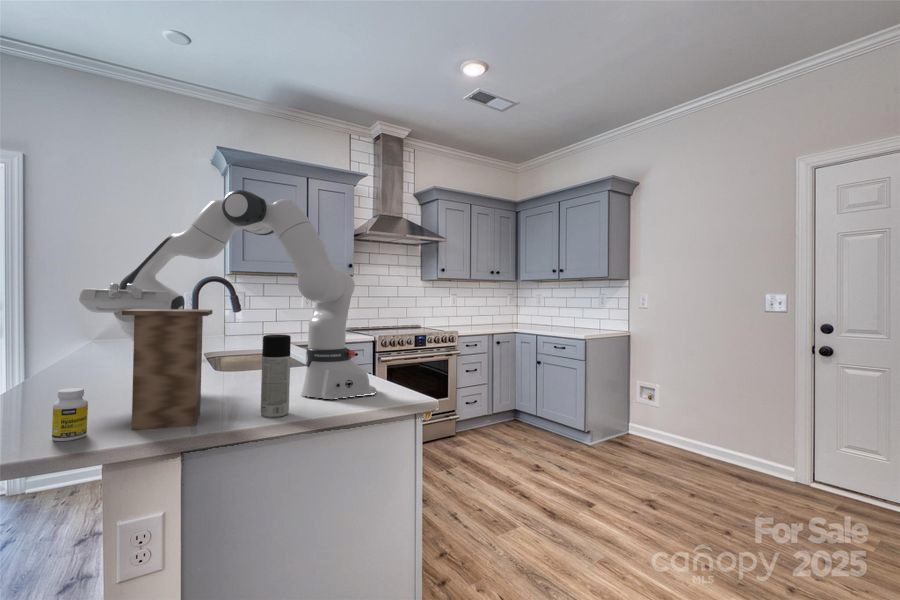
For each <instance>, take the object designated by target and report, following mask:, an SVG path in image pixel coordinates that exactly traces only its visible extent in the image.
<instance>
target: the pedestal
mask: <svg viewBox="0 0 900 600" xmlns="http://www.w3.org/2000/svg"><path fill="white" fill-rule="evenodd" d="M122 315H134V341H133V355H132V356H133V357H132V359H133V361H132V363H133V364H132V396H131V397H132V398H131V399H132V401H131V403H132V404H131V405H132V406H131V430H132V431H135V430H147V429H160V428H163V429H164V428H173V427H176V428H177V427H189V426H196V424H197V422H198V420H199V418H200V416H201V397H202V394H201V393H202V365H203V363H202V361H203V360H202V359H203V357H202V356H203V355H202V354H203V353H202V352H203V351H202V350H203V323H204V322H203V321H204V320H203V318H204V317H209V316H210V315H213V309H197V308H195V309H191V308H190V309H187V308H186V309H185V308H184V309H130V310H123V311H122Z"/></svg>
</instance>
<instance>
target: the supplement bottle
mask: <svg viewBox="0 0 900 600" xmlns="http://www.w3.org/2000/svg"><path fill="white" fill-rule="evenodd" d="M84 395H85V388H83V387H70V388H69V387H68V388H62V389H59V390H58V391H57V399H59V400H57V401H55V402H54V403H53V405H52V422H51V424H52V427H51V440H52V441H55V442H68V441H74V440H75V441H76V440H78V439H82V438H84V437H85V436H86V435H87V431H88V413H89V412H88V408H89V403H88V402H89V401H88V400H87V399H85V398H83V397H84Z"/></svg>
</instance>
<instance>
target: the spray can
mask: <svg viewBox="0 0 900 600" xmlns="http://www.w3.org/2000/svg"><path fill="white" fill-rule="evenodd" d="M291 338H292V337H291V335H289V334H267V335H263V337H262V350H261V351H262V354H261V355H262V356H261V386H260V387H261V390H260V392H261V393H260V415H261V417H263V418H270V419H271V418H274V417H275V418H281V416H282V417H285V416H287V415H288V414H289V411H290V384H291V383H290V380H291V379H290V378H291V346H292V345H291V342H292V340H291ZM275 418H274V419H275Z"/></svg>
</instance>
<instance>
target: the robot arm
mask: <svg viewBox="0 0 900 600" xmlns="http://www.w3.org/2000/svg"><path fill="white" fill-rule="evenodd" d="M239 230H243V231H245V232H247V233H251V234H254V235H257V236H269V235H273V234H274V235H275V236H276V237H277V239H278V241H279V243H280V244H281V246H282V247H283V249H284V251H285V252H286V254H287V255H288V257H289V259H290V260H291V262H292V265H293V267H294V270H295V273H296V275H297V279H298V281H297V287H298V290H299V292H300V294H301V295H302V297H304V298H305V299H307V300H309V301H311V302H314V303H315V306H314V309H313V312H312V315H311V318H310V319H309V322H308V335H307V336H308V339H307V341H308V342H307V348H306V351H305V366H306V371H305V377H304V382H303V387H302V389H301V390H302V391H301V392H300V395H301V396H303V397H305V396H307V397H306V398H309V397H316V398H315V399H318V398H323V399H335V398H343V397H350V396H357V395H364V394H371V393H375V392H376V393H377V388H376V387H375V386H373V385H371V384H370V378H369V375H368V373H367V371H366V370H365V369H363V367H361V366H360V365H359V364H357V363H356V362H355V361H354V360H352V358H354V357H355V356H356V351H355V350H354V349H349V348H347V347H346V339H347V338H346V337H347V336H346V334H347V333H346V332H347V331H346V330H347V319H348V314H349V310H350V305H351V300H352V296H353V294H354V292H355V289H356V288H355V287H356V286H355V281H354V278H353V277H352V276H351V275H350V274H349V273H348V272H347V271H345V270H343V269H341V268H338V267H334V265H333V264H332V263H331V262H330V259H329V256H328V254H327V252H326V245H325V243H324V241H323V239H322V238H321V237H320V234H319V233H318V232H317V230H316V228H315V227H314V225H313V223H312V222H311V220H310V218H308V216H307V215H306V213H305V212H304V211H303V210H302V209H301V207H300V206H299V205H298V204H297V203H296V202H295V201H293V200H291V199H289V198H288V199H287V198H281V199H277V200H276V201H274V202H271V203H269V202H267V201H266V200H265V199H264V198H262V197H261V196H259V195H257V194H255V193H253V192H251V191H248V190H242V189H236V190H232V191H230V192H228V193H227V194H226V195H225V196H224V198H223V199H222V200H221V199H213V200H211V201H210V202H208V204H207V205H206V206H205V207H204V208H203V209H202V210H201V211H200V212H199V213H198V214H197V216H196V218H194V220H193V221H192V223H191V224H190V226H189V227H187V228H186V229H185V230H184V231H182V232H180V233H177V232H175V233H172V234H170V235H169V236H168V237H166V238H165V239H164V240H163V241H162V242H161V243H159V245H157V246H156V247H155V249H154V250H153V251H152V252H151V253H149V254H148V256H147V257H146V258H145V259H144V260H143V261H142V262H141V263H140V264H139V265H138V266H137V267H136V268H135V269H133V270H132V271H131V272H130V273H129V274H128V275H126V276H125V277H124V278H123V279H122V280H121V282H120V283H112V282H111V283H110V285H109V289H107V288H84V289H82V290H81V291H80V292H79V298H78V301H79V302H80V304H81V305H82V306H83V307H84V308H85V309H86V310H87V311H90V312H92V313H101V314H102V313H106V314H107V313H110V314H113V315H114V317H115V318H116V321H117V322H118V324H119V325H120V326H121V329H122V331H123V333H124V334H125V335H126V337H128V339H130V340H131V341H133V342H134V315H122V311H123V310H130V309H185V306H186V305H185V304H186V303H185V297H184V296H183V295H182V294H179V292H177V291H175V290H174V289H172V288H170V287H168V286H167V285H165V284H164V283H163V282H160V281H158V280H157V278H156V276H157V275H158V273H160V271H161V270H162V269H163V268H164V267H165V266H166V265H167V264H168V263H169V262H170V261H171V260H172V259H173V258H175V257H178V256H183V257H188V258H194V259H197V260H209V259H213V258H215V257H217V256H218V255H219V254H220V253H221V252H222V251H223V250H224V249H225V247H226V246H227V243H228V242H229V241H230V239H231V238H232V236H233V235H234V234H235V233H236V232H237V231H239ZM323 399H322V400H323Z"/></svg>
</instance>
